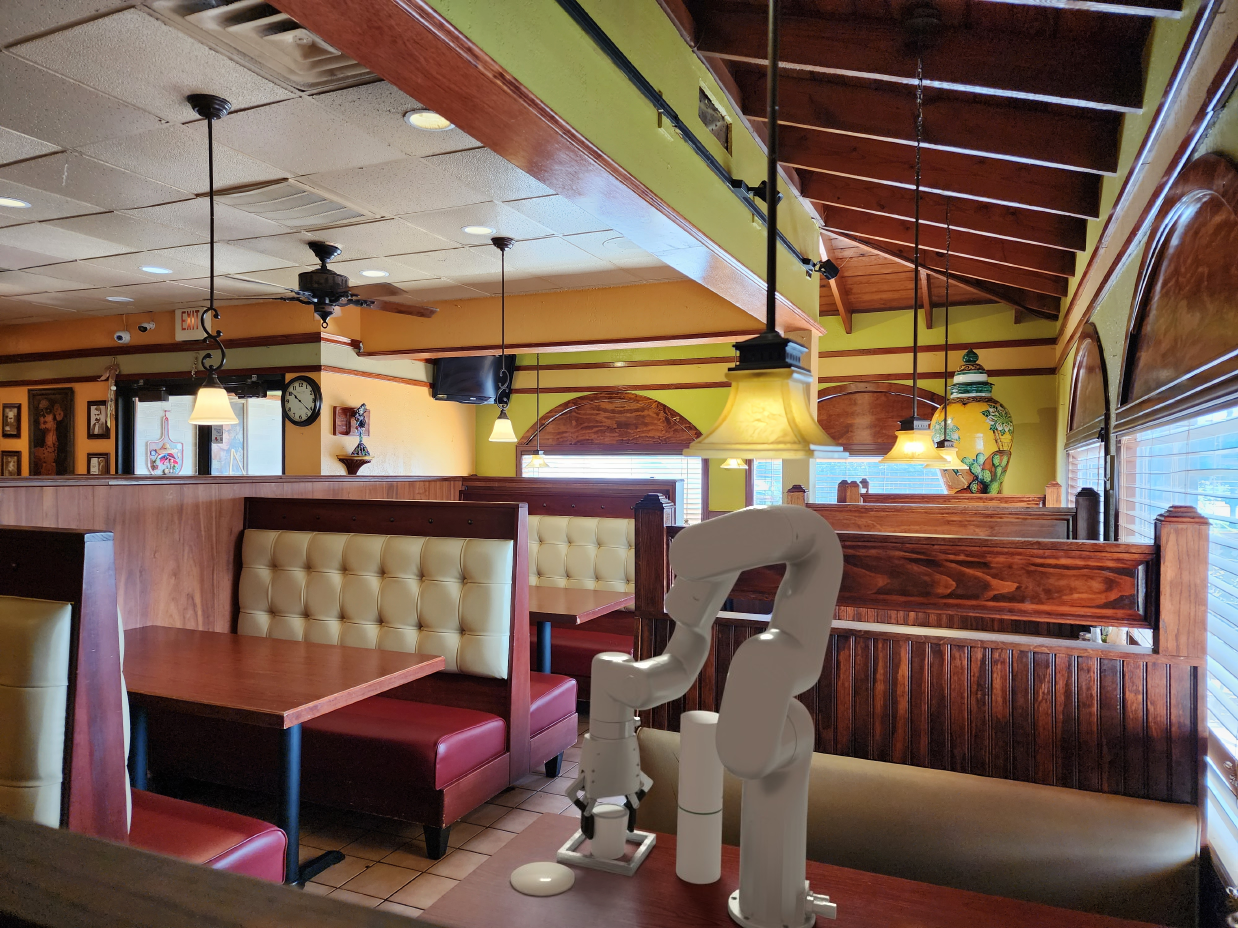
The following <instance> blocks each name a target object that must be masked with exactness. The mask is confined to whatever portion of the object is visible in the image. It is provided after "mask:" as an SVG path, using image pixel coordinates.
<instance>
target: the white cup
mask: <svg viewBox="0 0 1238 928" xmlns="http://www.w3.org/2000/svg"><path fill="white" fill-rule="evenodd" d="M591 814H592V815H593V816H594V836H593V839H592V840H589V841H590V852H591V856H595V857H600V858H605V859H610V860H616V859H620V858H621V857H622V856H624V854H625V849H626V841H627V840H626V833H627V825H628V817H629V810H628V809H627V808H626V807H625V806H623V804H620V803H619V804H618V803H614V802H613V803H612V802H601V803H597V804H595V806H594V808H593V810H592V813H591Z"/></svg>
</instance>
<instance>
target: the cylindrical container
mask: <svg viewBox="0 0 1238 928" xmlns="http://www.w3.org/2000/svg"><path fill="white" fill-rule="evenodd" d="M718 716H719V712H718V713H717V712H714V711H707V710H690V711H685V712H682V713H681V714H680V727H679V728H680V729H679V730H680V731H679V760H678V761H679V762H678V763H679V764H678V788H677V789H678V791H677V792H678V795H677V796H678V797H677V826H676V827H677V828H676V831H677V833H676V865H675V873H676V875H677V877H679V878H680V879H681V880H683V881H685V882H688V883H691V884H697V885H705V884H711V883H714V882H716V881H719V879H720V878H721V870H722V869H721V867H722V865H721V864H722V862H721V861H722V836H723V834H722V831H723V803H724V802H723V797H724V796H723V795H724V769H725V767H724V766H723V764H722V763H721V761H720V759H719V756H718V753H717V749H716V742H715V735H716V727H717V721H718Z"/></svg>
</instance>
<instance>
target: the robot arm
mask: <svg viewBox="0 0 1238 928" xmlns="http://www.w3.org/2000/svg"><path fill="white" fill-rule="evenodd" d="M843 553H844V552H843V548H842V544H841V542H840V539H839V536H838V534H837V533H836V531H835V530H834V528H833V527H832V525H831V524H830V523H829V522H828V521H827V519H825V518H824V517H823V516H821V515H820V514H819V513H817V512H816V511H814V510H813V509H811V508H807V507H806V506H803V505H799V504H798V505H797V504H789V503H788V504H785V503H784V504H756V505H750V506H747V507H744V508H741V509H738V510H735V511H731V512H729V513H725V514H723V515H720V516H716V517H714V518H710V519H706V520H703V521H701V522H697V523H694V524H691V525H688V526H686V527H684V528H683V529H681V530H680V531H679V532H678V533H676V535H675V536H674V537H673V539H672V541H671V544H670V547H669V550H668V560H669V565H670V567H671V570H672V571H673V574H675V576H676V577H675V579H674V581H673V583H671V586H670V588H669V590H668V592H667V594H666V596H665V598H664V601H663V602H664V603H663V604H664V606H663V607H664V609H665V611H666V613H667V614H668V616H669V617H670V618H671V619H672V620H674V622H675V628H674V632H673V634H672V636H671V638H670V640H669V641H668V644H667V645H666V647H665V649H664V650H663V652H662V654H661V655H658V656H654V657H651V658H647V659H644V660H638V661H636V660H635V658H634V657H633V656H632V655H630V654H629V653H625V652H618V651H606V652H605V651H604V652H600V653H598V654H596V655H594V657H593V658H592V660H591V661H592V662H591V672H590V673H591V674H590V677H591V678H590V699H589V701H590V703H589V706H590V707H589V731H588V733H584V735H583V739H582V744H581V749H580V754H579V755H580V756H579V760H578V762H579V763H578V771H577V778H575V779H574V781H572V782H571V784H570V785H569V786H568V787H566V789H565V790H564V795H565V796H566V797H567V798H568V799H569V801H570V802H571V803H572V804H573V805H574V806H575V807H576V808H577V809H578V810H579V811H580V828H581V832H582V833H583V834H584V835H585V836H586V839H587V840H588V841H590V840H592V839H593V836H594V816H593V815H592V814H591V813H592V810H593V808H594V806H595V805H596V803H597V801H598V800H605V799H611V798H615V797H616V798H617V797H624V799H625V802H624V803H623V804H622V806H625V807H626V808H627V809H628V810H629V817H628V825H627V830H628V831H629V832H630V833H633V832H634V830H635V826H636V824H637V809H638V808H639V807H640V803H641V802H642V801H643V799H644V798H645V797H646V796H647V792H648V791H649V790H650V788H651V787H652V785H653V784H654V781H653V779H651V778H650V777H648V775H647V774H646V773H644V772H643V771H642V770H641V758H640V747H639V742H638V736H637V734H636V733H635V731H636V728H635V727H637V726H640V725H641V718H640V717H635V711H636V710H637V711H644V710H649V709H651V708H655V707H657V706H660V705H661V704H665V703H668V702H671V701H673V700H676V699H679V698H681V697H682V696H683V695H685V694H686V693H687V692H688V691H689V689H690V688H691V687H692V686H693V684H694V683H695V681H696V680H697V678H698V675H699V673H700V672H701V671H702V669H703V667H704V665H705V664H706V663H705V662H706V661H707V660H708V659H707V658H708V656H709V653H710V648H711V642H712V626H713V624H714V622H715V620H716V618H717V617H718V614H719V613H720V611H721V609H722V607H723V605H724V603H726V602H725V601H726V600H727V598H728V596H729V595H730V592H731V591H732V589H733V587H734V586H735V584H736V583H737V580H738V579H739V577H740V574H741V573H742V572H743V571H749V570H751V569H755V568H759V567H764V566H770V565H771V566H772V565H776V564H786V568H785V569H786V570H785V573H784V576H783V577H782V580H781V581H780V584H779V587H778V589H777V591H776V594H775V598H774V603H773V609H772V612H771V613H772V614H771V615H770V616H771V617H770V619H769V620H770V621H769V624H768V626H767V628H766V630H765V631H764V632H762V633H759V634H755V635H753V636H751V637H749V638H747V639H746V640H744V641H743V642H742V643H741V644H740V645H739V647H738V648H737V650H736V651H735V653H734V655H733V657H732V659H731V661H730V664H729V668H728V673H727V676H726V679H725V685H724V689H723V695H722V699H721V703H720V708H719V712H718V714H719V716H718V721H717V727H716V735H715V742H716V749H717V753H718V756H719V759H720V761H721V763H722V764H723V766H724V769H726V771H728V772H729V774H731V775H732V776H734V778H738V779H741V780H742V789H741V807H740V808H741V809H740V811H741V812H740V839H739V840H740V841H739V843H740V844H739V874H738V875H739V876H738V877H739V880H738V889H736V890H735V891H734V892H732V893H731V894H730V896H729V897H728V900H727V910H728V914H729V915H730V917H731V918H732V920H733V921H735V923H736V924H738V925H739V926H741V927H743V928H813V927H814V926H815V922H816V915H817V916H822V918H823V917H824V918H829V919H833V920H836V918H837V904H836V903H832V902H830V896H829V895H824V894H816V893H814V891H813V890H810V880H806V869H807V868H806V866H807V865H806V862H807V857H806V855H807V829H808V827H807V826H808V825H807V823H808V821H807V819H808V804H809V803H808V801H809V800H808V797H809V782H810V770H811V766H812V759H813V754H814V747H815V745H814V744H815V727H814V725H815V724H814V721H813V719H812V716H811V714H810V712H809V710H808V708H807V707H806V706H805V705H804V704H803V703H802V702H800V701H799V700H798V699H797V698H795V696H798V695H800V694H803V693H804V692H807V690H809V689H811V688H812V687H814V686H815V684H816V683H817V682H818V681H819V679H820V677H821V674H822V670H823V666H824V659H825V656H826V651H827V647H828V643H829V642H828V641H829V637H830V635H831V629H832V625H833V619H834V614H835V608H836V605H837V599H838V596H839V591H840V588H841V583H842V579H843V572H844V554H843ZM579 792H584V793H583V795H582V797H581V799H580V798H579V797H578V793H579Z"/></svg>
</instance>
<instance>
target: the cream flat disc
mask: <svg viewBox="0 0 1238 928" xmlns="http://www.w3.org/2000/svg"><path fill="white" fill-rule="evenodd" d="M575 879H576V877H575V873H574V871H573V870H572V869H570V867H568V866H566V865H563V864H560V863H556V862H550V861H537V862H536V861H535V862H529V863H526V864H523V865H522V866H519V867H518V868H515V869H514V870H513V872H512V873H511V874H510V883H511V886H512V887H513V888H514V889H515V890H516V891H518V892H520V893H522V894H525V895H528V896H535V897H548V896H549V897H550V896H555V895H559V894H562V893H564V892H566V891H568V890H569V889H571V888H572V887H573V885H574V884H575Z"/></svg>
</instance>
